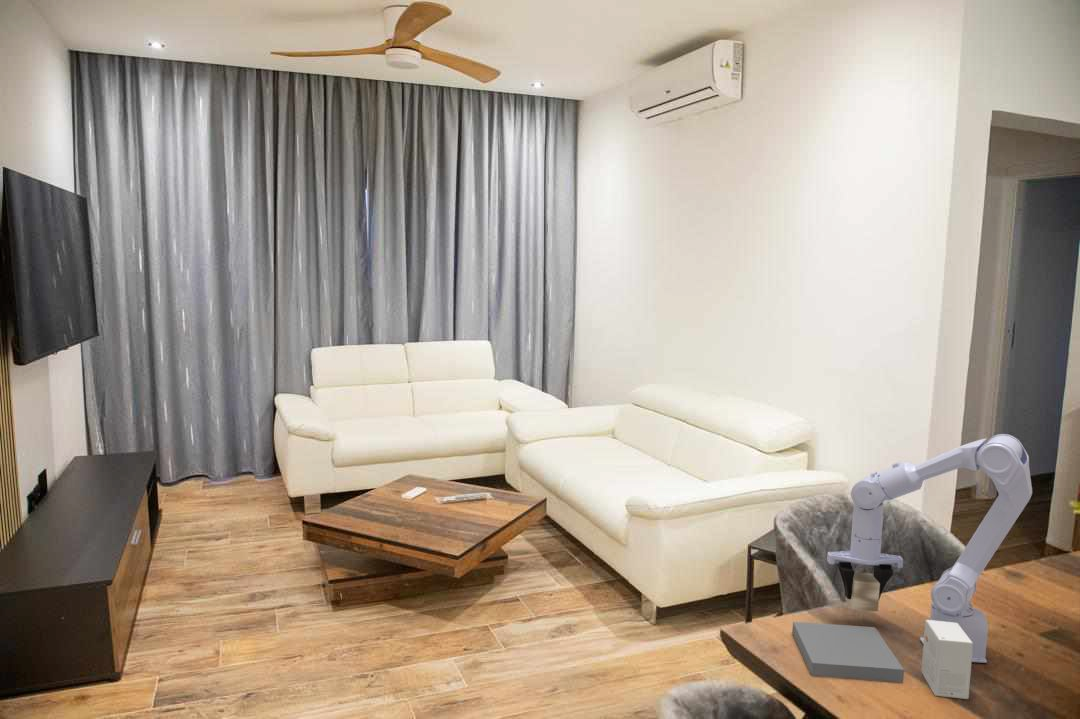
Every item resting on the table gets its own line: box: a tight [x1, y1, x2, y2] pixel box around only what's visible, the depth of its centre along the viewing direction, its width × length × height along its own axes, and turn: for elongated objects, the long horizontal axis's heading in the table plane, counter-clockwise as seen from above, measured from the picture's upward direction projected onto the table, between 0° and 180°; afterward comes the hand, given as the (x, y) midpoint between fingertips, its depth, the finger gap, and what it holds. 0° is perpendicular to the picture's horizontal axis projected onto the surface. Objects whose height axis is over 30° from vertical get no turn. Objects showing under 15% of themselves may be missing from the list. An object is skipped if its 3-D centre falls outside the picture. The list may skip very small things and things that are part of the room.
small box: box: [920, 619, 973, 700], centre depth 134 cm, size 8×6×10 cm
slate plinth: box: [791, 621, 905, 684], centre depth 144 cm, size 16×16×2 cm
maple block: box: [845, 572, 880, 612], centre depth 156 cm, size 5×5×6 cm
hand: (861, 597), depth 156 cm, fingers closed on maple block, 5 cm apart
